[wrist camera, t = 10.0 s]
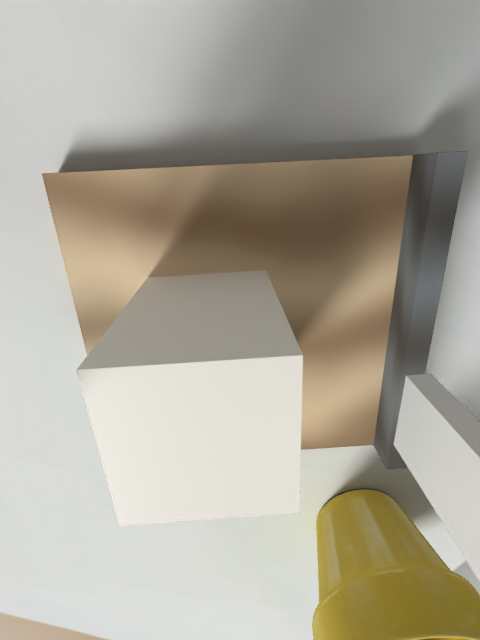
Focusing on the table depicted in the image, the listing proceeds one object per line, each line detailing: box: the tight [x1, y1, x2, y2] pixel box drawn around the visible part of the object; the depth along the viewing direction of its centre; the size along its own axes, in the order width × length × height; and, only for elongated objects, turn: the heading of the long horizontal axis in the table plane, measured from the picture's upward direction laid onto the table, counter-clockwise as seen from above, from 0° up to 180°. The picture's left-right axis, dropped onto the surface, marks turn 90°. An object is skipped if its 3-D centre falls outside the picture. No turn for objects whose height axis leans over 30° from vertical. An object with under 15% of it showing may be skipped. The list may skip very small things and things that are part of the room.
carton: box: [77, 270, 303, 526], centre depth 14 cm, size 6×6×9 cm
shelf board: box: [42, 151, 467, 469], centre depth 18 cm, size 17×18×4 cm
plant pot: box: [312, 489, 480, 640], centre depth 23 cm, size 10×10×10 cm
